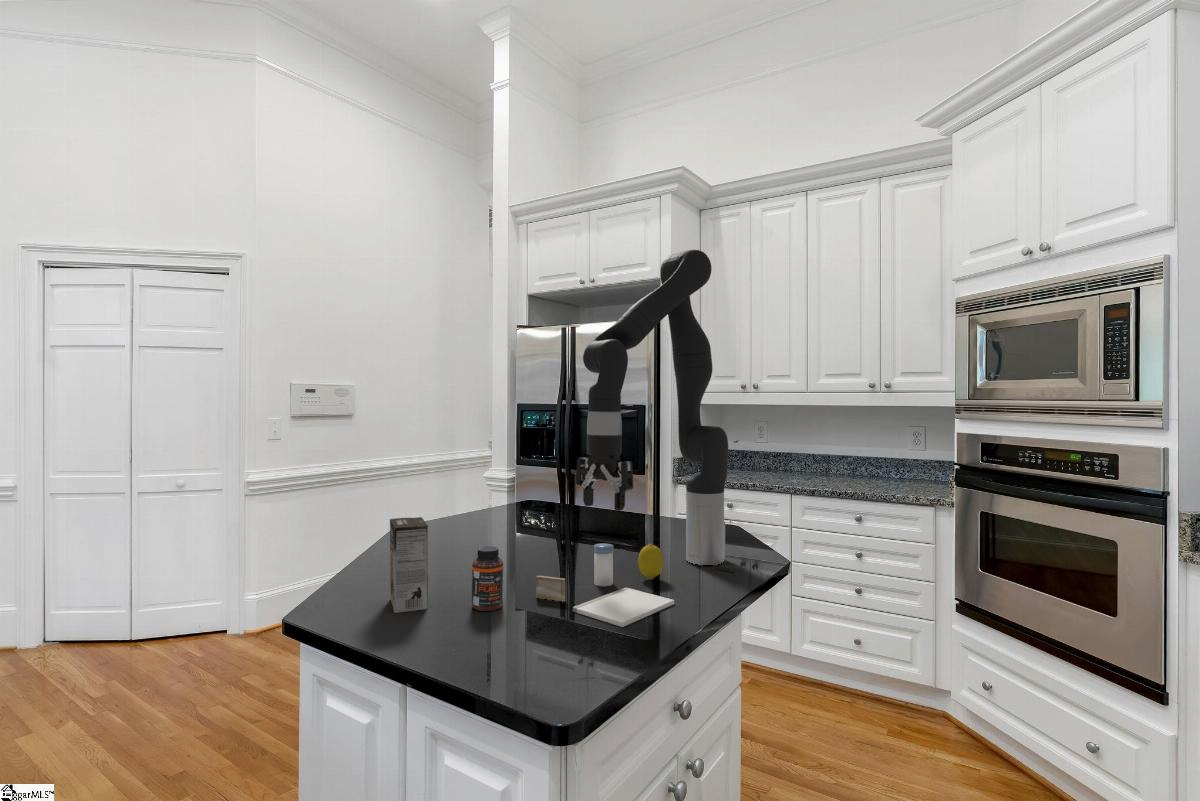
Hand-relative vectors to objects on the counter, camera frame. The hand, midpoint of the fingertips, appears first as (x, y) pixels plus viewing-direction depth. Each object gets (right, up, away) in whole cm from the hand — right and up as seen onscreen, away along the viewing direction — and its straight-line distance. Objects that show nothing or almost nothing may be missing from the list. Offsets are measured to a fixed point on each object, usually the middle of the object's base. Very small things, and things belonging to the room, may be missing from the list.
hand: (603, 507), depth 134 cm
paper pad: (+4, -17, -15) cm, 23 cm away
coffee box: (-38, -17, -13) cm, 44 cm away
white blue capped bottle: (0, -16, 0) cm, 16 cm away
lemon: (+10, -17, +3) cm, 20 cm away
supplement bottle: (-22, -17, -15) cm, 32 cm away
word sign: (-11, -17, -10) cm, 22 cm away
